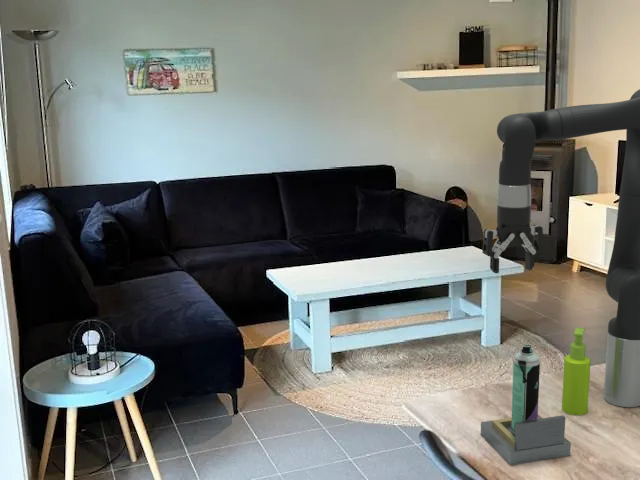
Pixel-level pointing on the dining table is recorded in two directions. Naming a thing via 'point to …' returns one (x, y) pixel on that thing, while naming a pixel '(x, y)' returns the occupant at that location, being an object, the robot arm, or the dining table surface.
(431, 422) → the dining table surface
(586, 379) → the soap dispenser
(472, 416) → the dining table surface
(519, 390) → the spray can
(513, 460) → the grey and tan frame
